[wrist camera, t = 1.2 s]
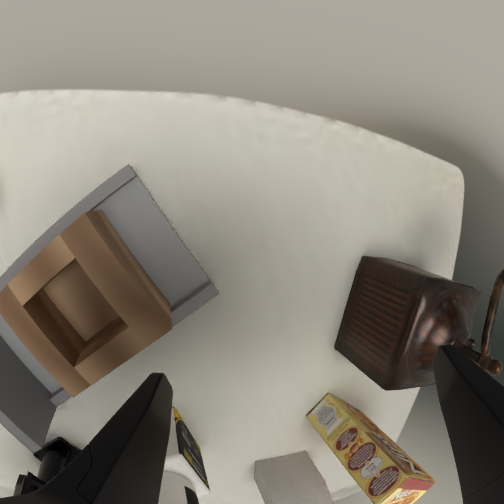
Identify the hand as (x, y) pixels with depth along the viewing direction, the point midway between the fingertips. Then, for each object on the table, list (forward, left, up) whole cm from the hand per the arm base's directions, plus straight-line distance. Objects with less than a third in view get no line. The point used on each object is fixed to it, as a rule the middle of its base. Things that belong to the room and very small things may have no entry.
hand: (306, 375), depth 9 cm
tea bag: (-9, -27, -18) cm, 33 cm away
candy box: (+1, -25, -18) cm, 30 cm away
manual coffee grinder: (+14, -14, -18) cm, 26 cm away
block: (-10, +4, -17) cm, 20 cm away
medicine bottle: (-16, -12, -18) cm, 27 cm away
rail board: (-12, +4, -17) cm, 21 cm away
